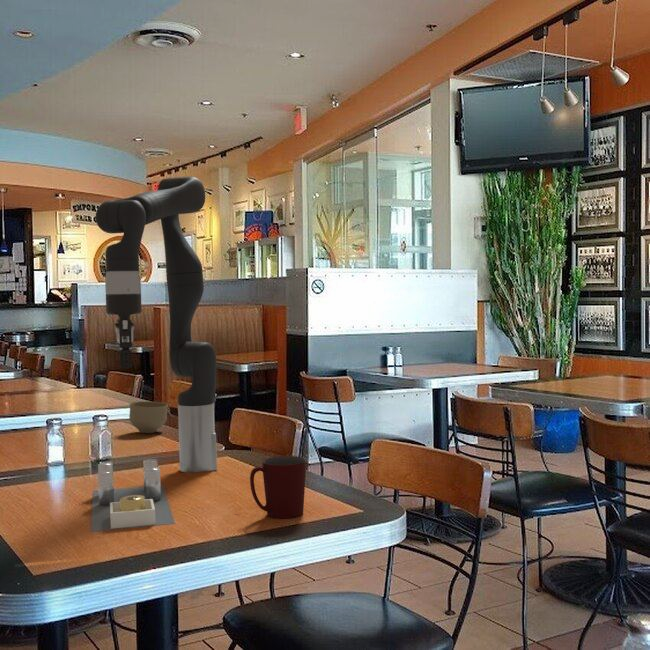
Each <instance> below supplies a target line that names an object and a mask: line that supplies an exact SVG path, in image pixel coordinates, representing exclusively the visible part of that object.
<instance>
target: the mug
mask: <svg viewBox="0 0 650 650" xmlns="http://www.w3.org/2000/svg"><path fill="white" fill-rule="evenodd" d="M261 463H262V466H255V467H254V468H252V470H251V472H250V474H249V482H250V483H249V485H250V490H251V495H252V498H253V499H254V502H255V504H256V505H257V506H258V507H259V508H260V510H263V511H264V512H266V513H267V514H266V515H267V516H268V517H271V518H274V519H292V518H298V517H301V516H302V515H303V514H304V506H305V505H304V504H305V492H306V491H305V489H306V470H307V469H306V464H307V463H306V459H305V458H303V457H301V456H293V455H292V456H291V455H290V456H289V455H284V456H282V455H281V456H273V457H267V458H265V459H263V460H262V462H261ZM258 472H262V477H263V485H264V488H263V489H264V496H265V498H264V499H265V505H263V504H262V503H261V501H260V500H259V497H258V495H257V492H256V488H255V475H256V473H258Z"/></svg>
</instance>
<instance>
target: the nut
mask: <svg viewBox="0 0 650 650" xmlns="http://www.w3.org/2000/svg"><path fill="white" fill-rule="evenodd" d="M120 509H121V512H124V511H135V510H145V497H144V496H142V495H130V496H125V497H122V498H121V499H120Z"/></svg>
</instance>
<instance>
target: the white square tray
mask: <svg viewBox="0 0 650 650" xmlns="http://www.w3.org/2000/svg"><path fill="white" fill-rule="evenodd" d="M110 519H111V529H112V528H123V527H134V526H144V525H155V507H154V503H153V499H146V500H145V510H135V511H124V512H121V509H120V502H111V503H110Z"/></svg>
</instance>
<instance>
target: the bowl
mask: <svg viewBox="0 0 650 650" xmlns="http://www.w3.org/2000/svg"><path fill="white" fill-rule="evenodd" d="M168 407H169V404H168V403H165V402H159V401H133V402H130V403H129V416H128V417H129V418H128V419H129V421H130V423H131V424H132V426H134V428H136V429H137V430H138V432H140V433H141V434H153V433H156V432H157V430H159V429H160V428H161V427H163V426H164V424H166V422H167V417H168Z"/></svg>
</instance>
